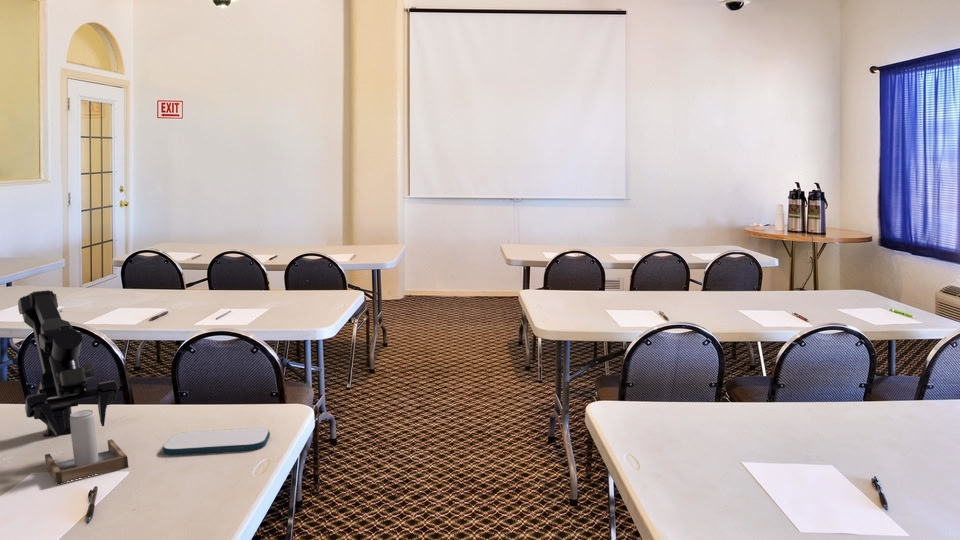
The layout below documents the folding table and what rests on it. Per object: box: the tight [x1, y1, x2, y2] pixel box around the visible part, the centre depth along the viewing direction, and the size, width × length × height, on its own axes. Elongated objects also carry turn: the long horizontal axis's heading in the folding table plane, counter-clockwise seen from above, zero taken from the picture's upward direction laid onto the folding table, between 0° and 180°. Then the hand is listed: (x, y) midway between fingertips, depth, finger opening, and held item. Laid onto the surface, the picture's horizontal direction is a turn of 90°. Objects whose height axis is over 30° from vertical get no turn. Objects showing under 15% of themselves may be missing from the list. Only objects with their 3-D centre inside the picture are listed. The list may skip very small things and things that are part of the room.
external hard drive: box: [162, 427, 271, 456], centre depth 175 cm, size 24×12×2 cm, turn 97°
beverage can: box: [70, 409, 99, 467], centre depth 163 cm, size 5×5×12 cm
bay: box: [44, 439, 129, 485], centre depth 163 cm, size 14×14×2 cm
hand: (81, 430), depth 165 cm, fingers open, 9 cm apart
